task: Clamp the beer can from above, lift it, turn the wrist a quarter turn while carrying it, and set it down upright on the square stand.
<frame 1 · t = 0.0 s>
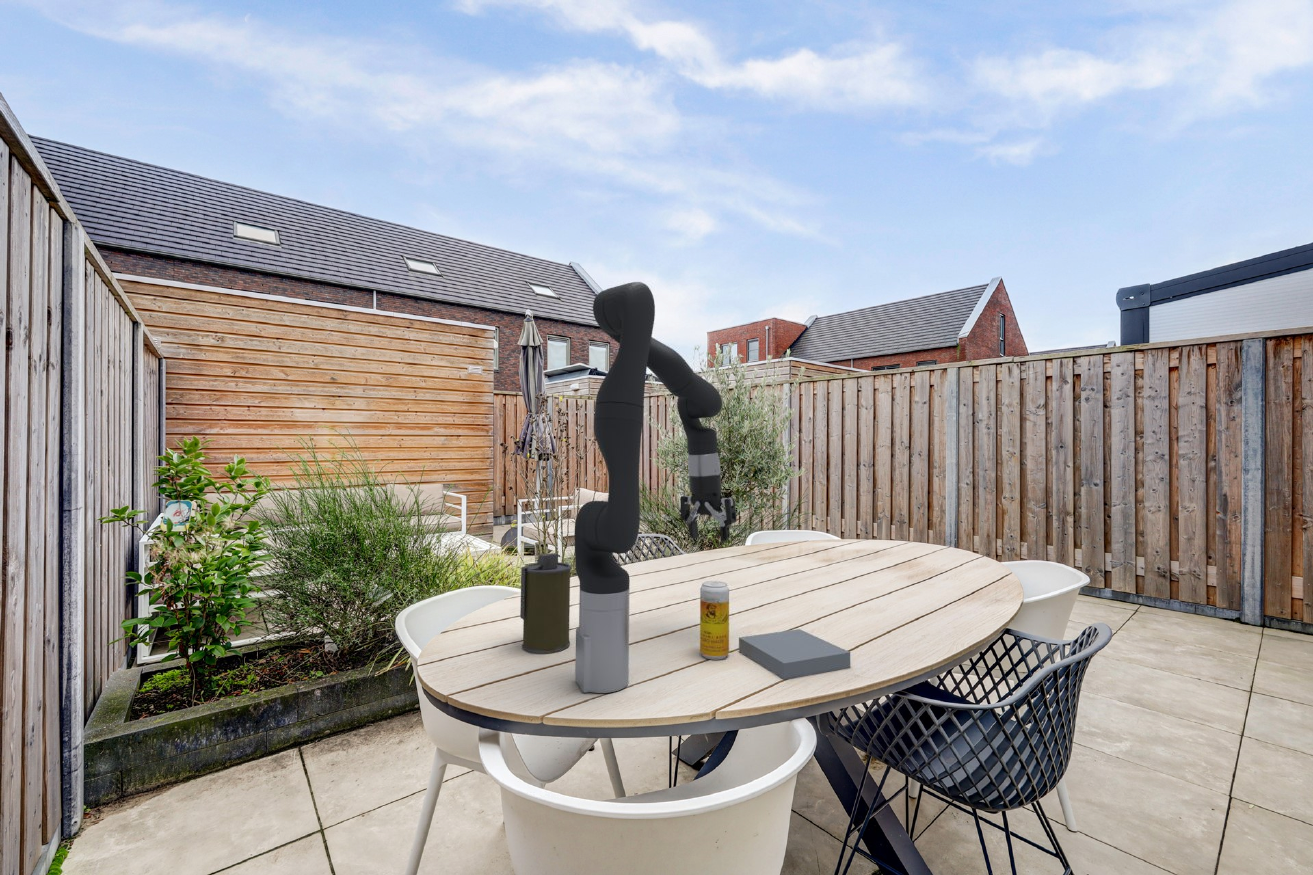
hand: (709, 539, 127), 22 cm above the table, tool pointing down, fingers open, 8 cm apart
canister: (545, 646, 117), on the table
beer can: (714, 656, 112), on the table
stand: (792, 659, 110), on the table
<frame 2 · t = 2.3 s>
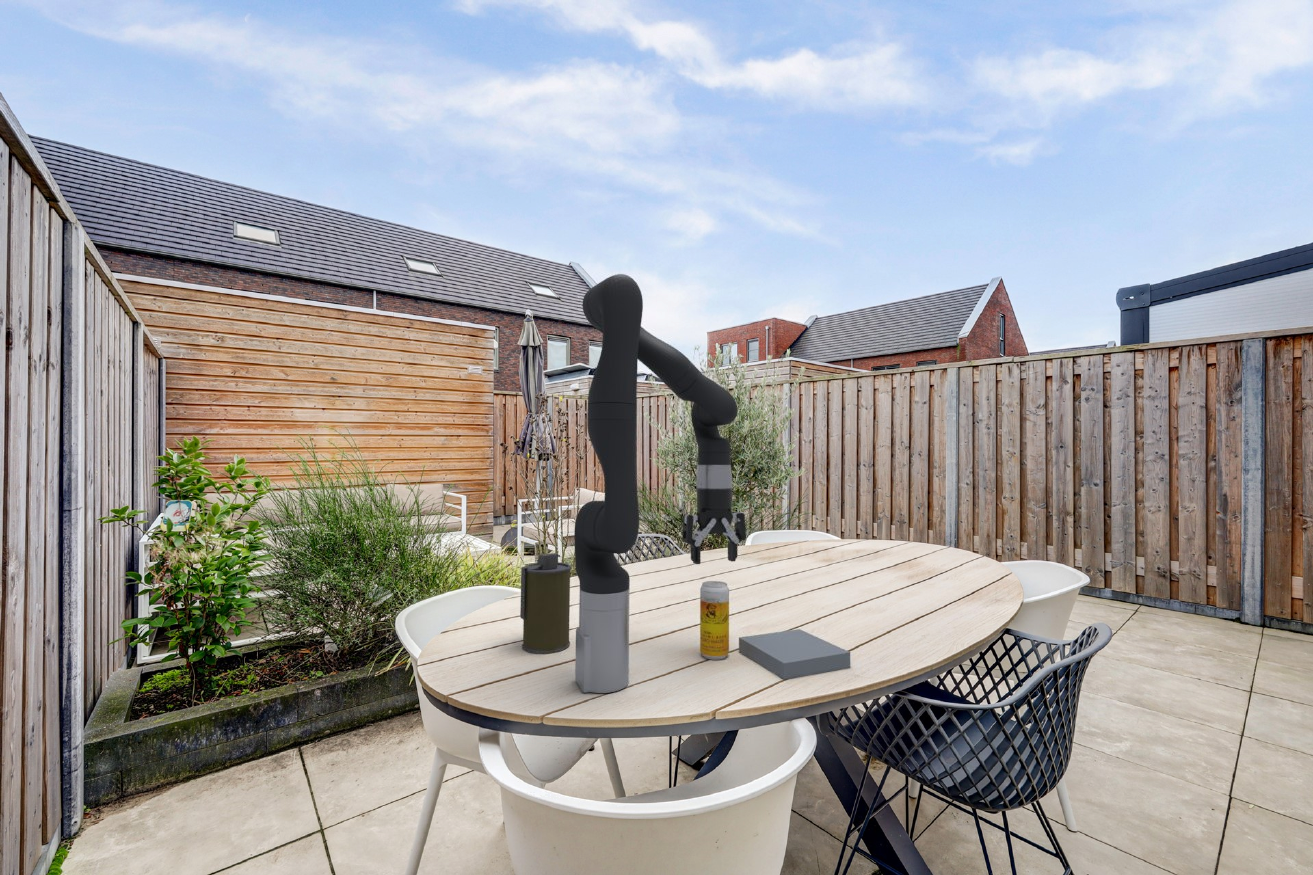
hand: (714, 562, 113), 19 cm above the table, tool pointing down, fingers open, 8 cm apart
nothing on the table moved.
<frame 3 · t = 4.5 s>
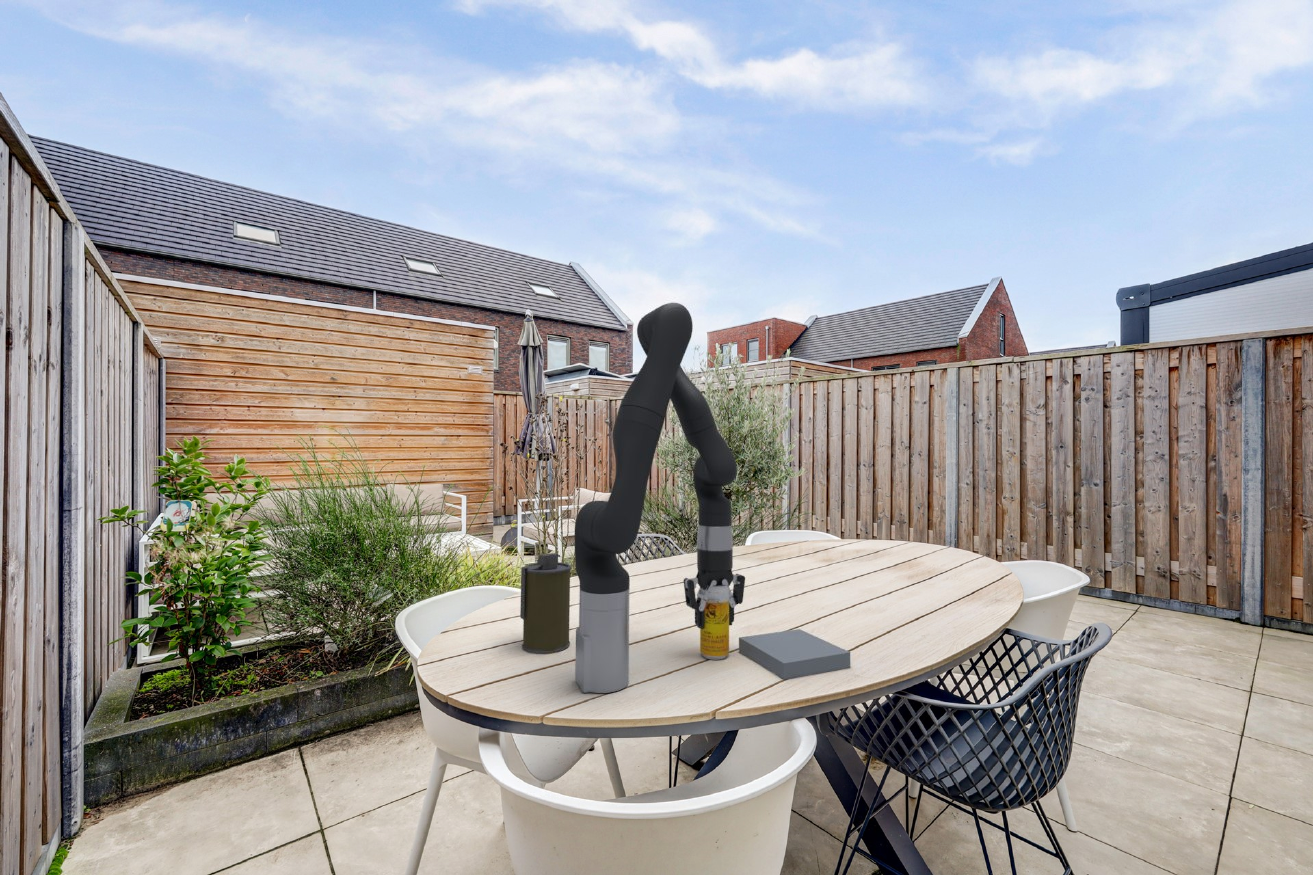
hand: (714, 625, 112), 6 cm above the table, tool pointing down, fingers closed on beer can, 6 cm apart
beer can: (714, 656, 112), on the table, touching gripper
everything else where it was.
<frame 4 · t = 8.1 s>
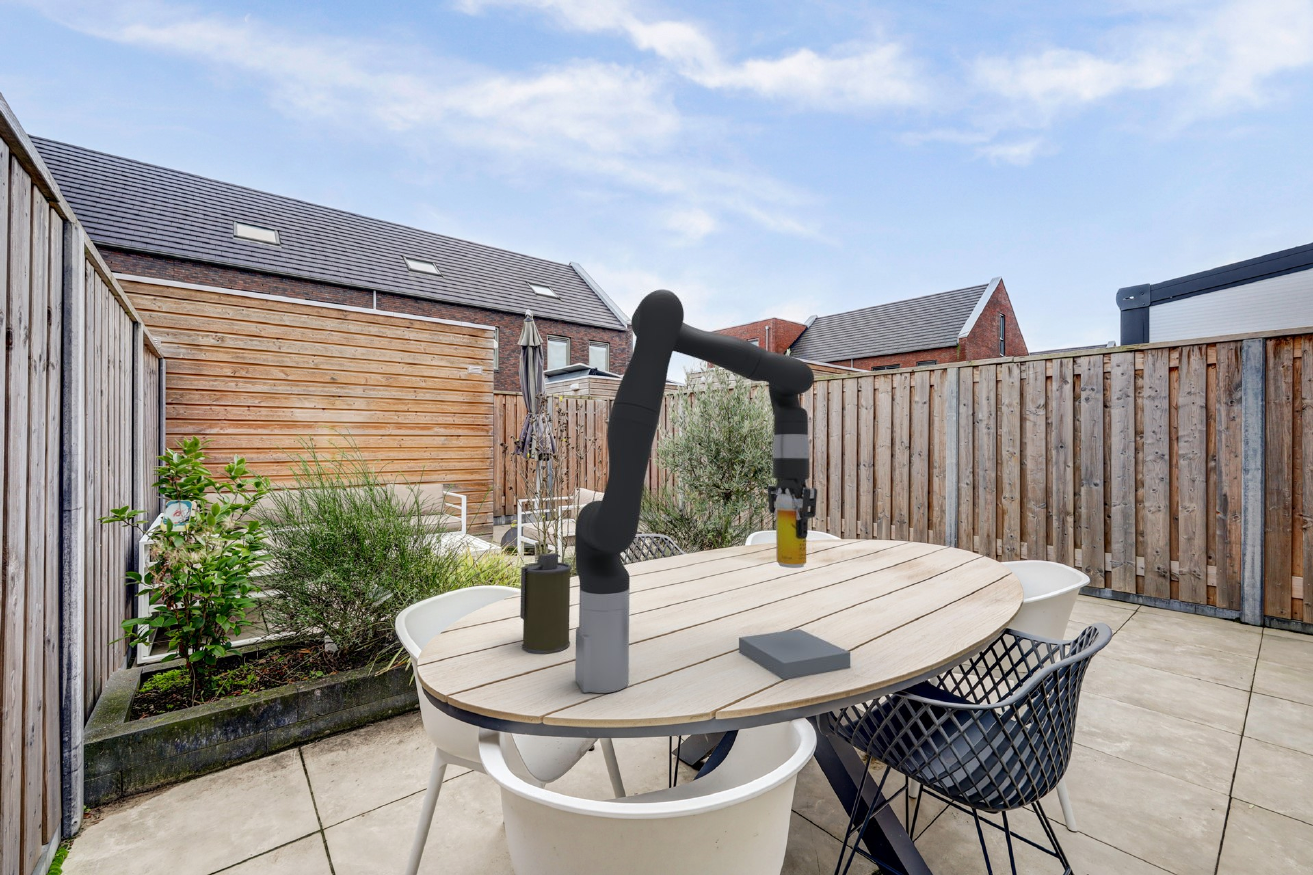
hand: (791, 536, 111), 25 cm above the table, tool pointing down, fingers closed on beer can, 6 cm apart
beer can: (791, 566, 111), point 19 cm above the table, touching gripper
everything else where it was.
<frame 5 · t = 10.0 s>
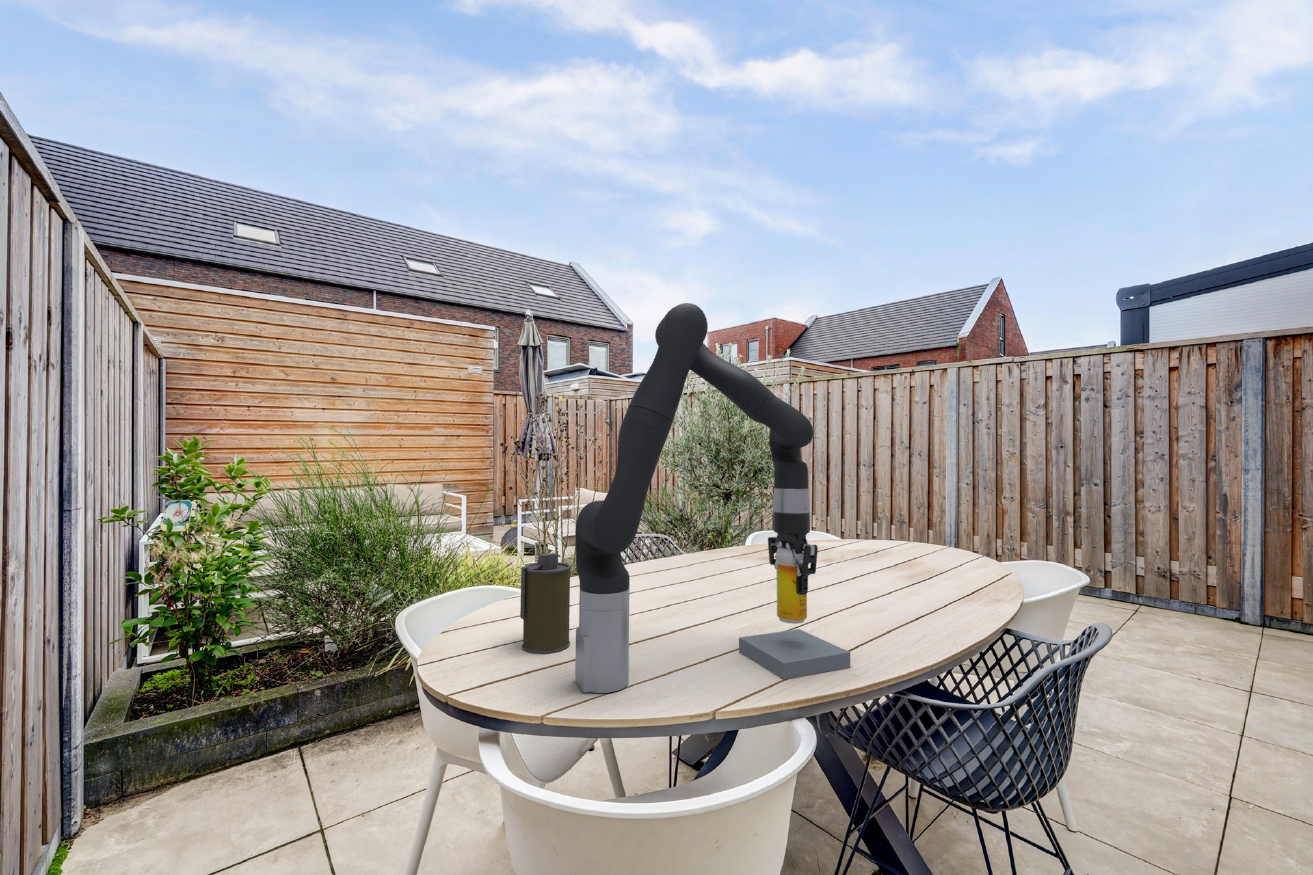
hand: (791, 590, 111), 14 cm above the table, tool pointing down, fingers closed on beer can, 6 cm apart
beer can: (791, 620, 111), point 8 cm above the table, touching gripper
everything else where it was.
when the fingers open (10 cm above the table, at t = 11.8 s): beer can drops 1 cm, resting on stand.
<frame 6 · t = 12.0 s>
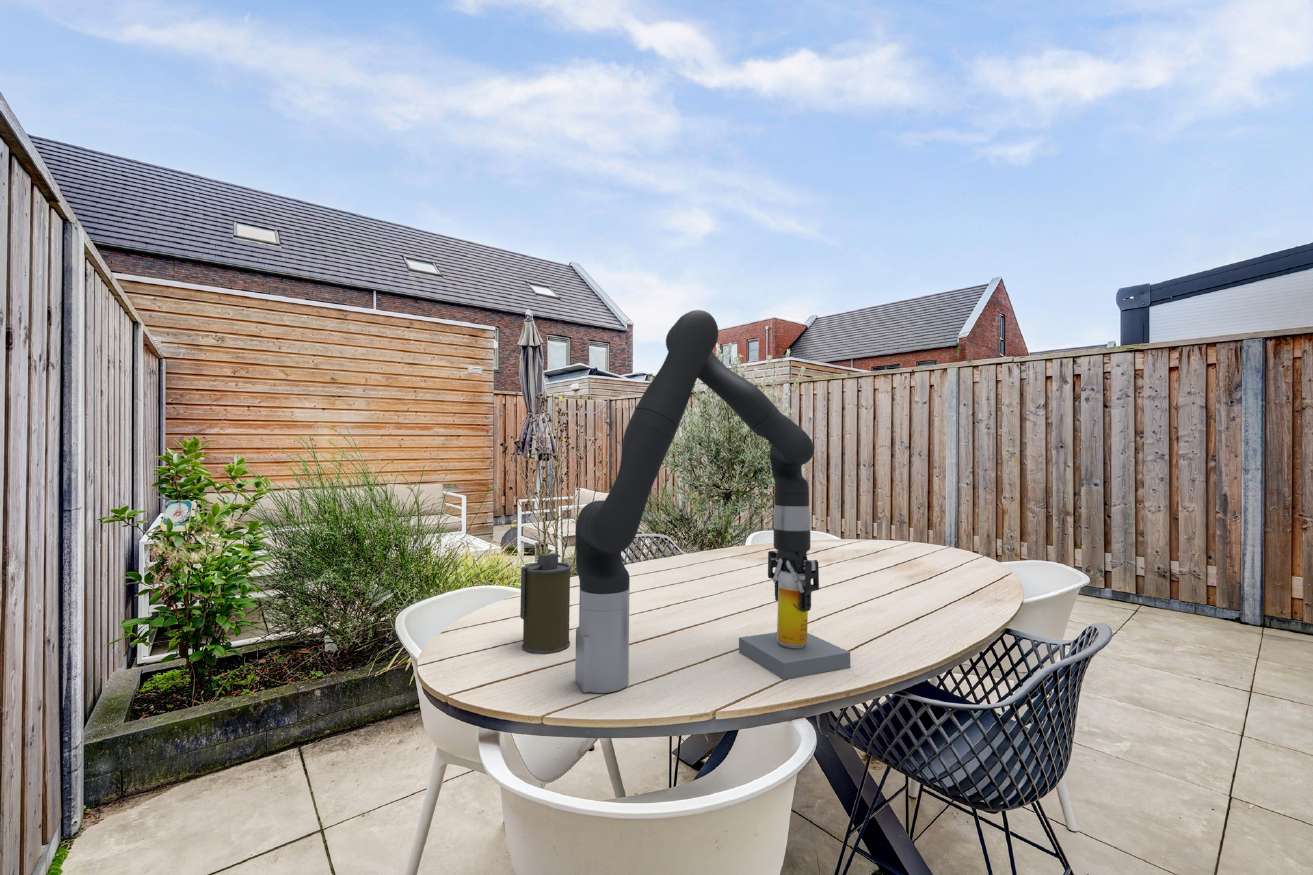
hand: (792, 605, 111), 11 cm above the table, tool pointing down, fingers open, 8 cm apart
beer can: (791, 645, 110), point 3 cm above the table, touching stand
everything else where it was.
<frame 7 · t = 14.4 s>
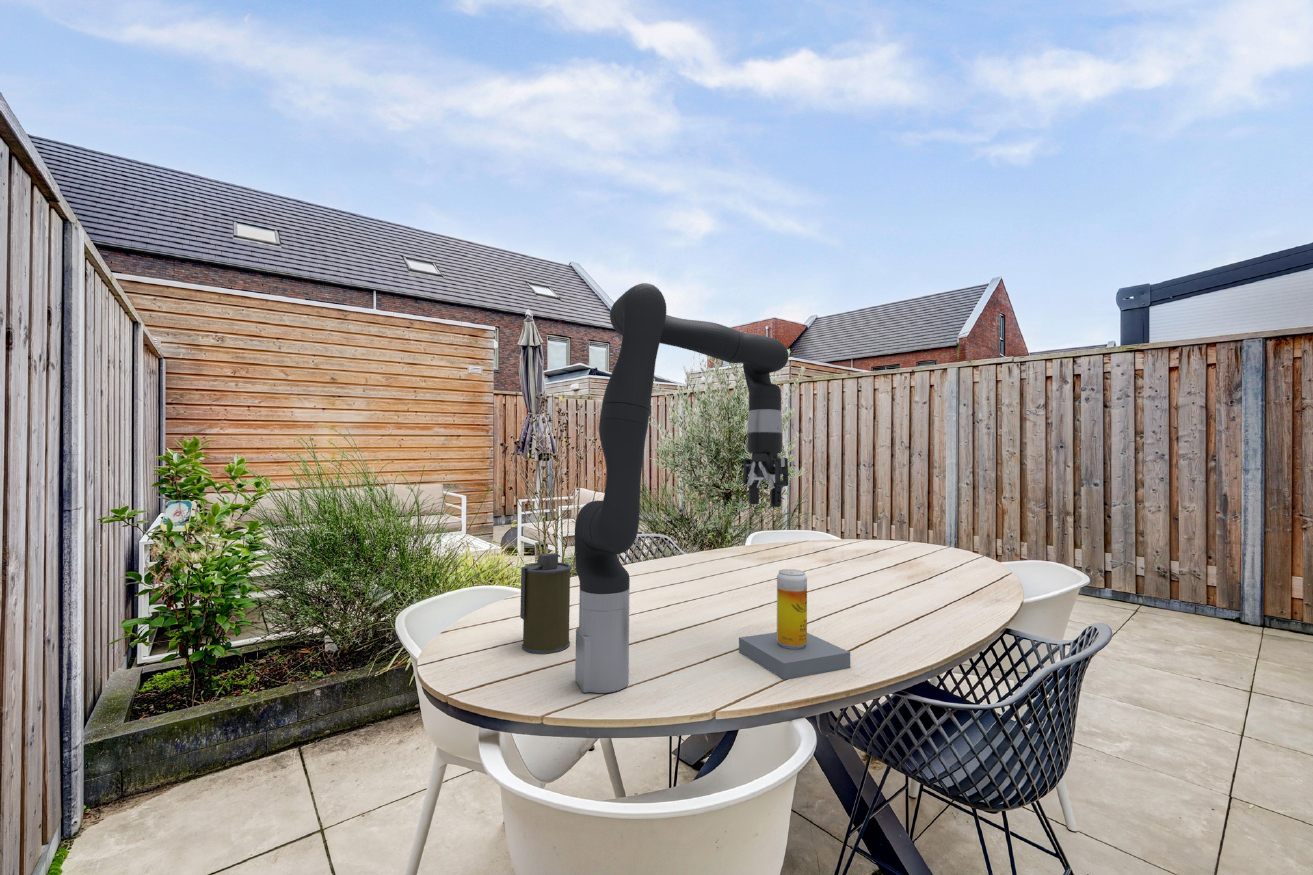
hand: (764, 505, 116), 31 cm above the table, tool pointing down, fingers open, 8 cm apart
nothing on the table moved.
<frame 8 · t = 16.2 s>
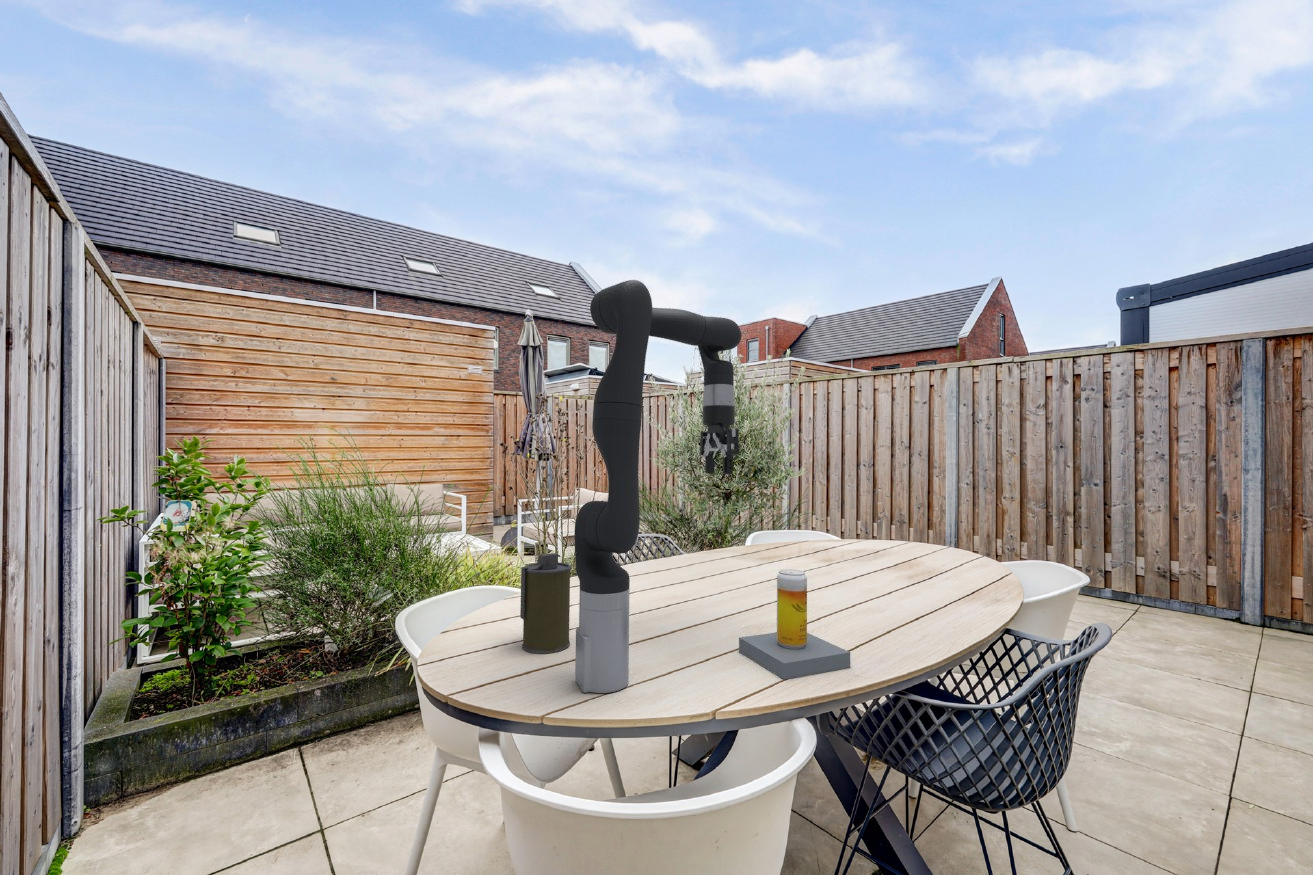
hand: (718, 473, 125), 38 cm above the table, tool pointing down, fingers open, 8 cm apart
nothing on the table moved.
at the end: beer can inside the target area on the stand (0.2 cm from its centre), point 2.8 cm above the stand's base; beer can tilted 1°; the gripper is holding nothing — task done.
